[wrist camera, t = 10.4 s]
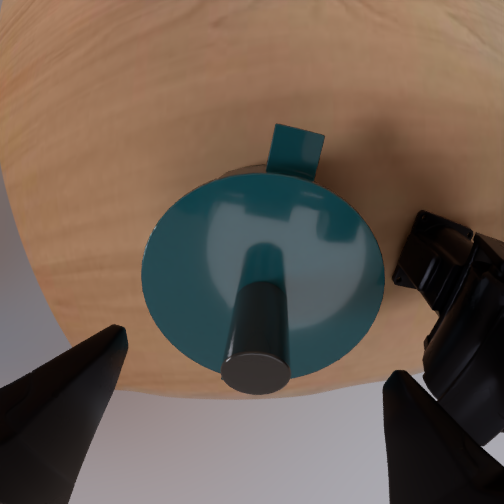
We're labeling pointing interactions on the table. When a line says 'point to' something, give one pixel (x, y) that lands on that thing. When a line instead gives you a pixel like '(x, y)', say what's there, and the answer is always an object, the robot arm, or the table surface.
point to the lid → (262, 278)
